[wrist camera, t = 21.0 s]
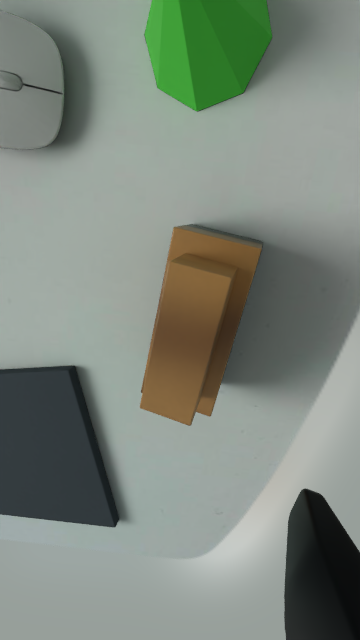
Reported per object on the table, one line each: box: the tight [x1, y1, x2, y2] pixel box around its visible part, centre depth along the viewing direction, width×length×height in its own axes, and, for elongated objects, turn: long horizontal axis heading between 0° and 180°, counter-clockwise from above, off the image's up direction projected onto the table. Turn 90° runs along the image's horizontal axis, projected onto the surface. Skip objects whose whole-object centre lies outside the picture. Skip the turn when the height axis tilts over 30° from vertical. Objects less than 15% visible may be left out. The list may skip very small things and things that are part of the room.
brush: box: [140, 224, 263, 426], centre depth 16 cm, size 9×4×6 cm, turn 168°
